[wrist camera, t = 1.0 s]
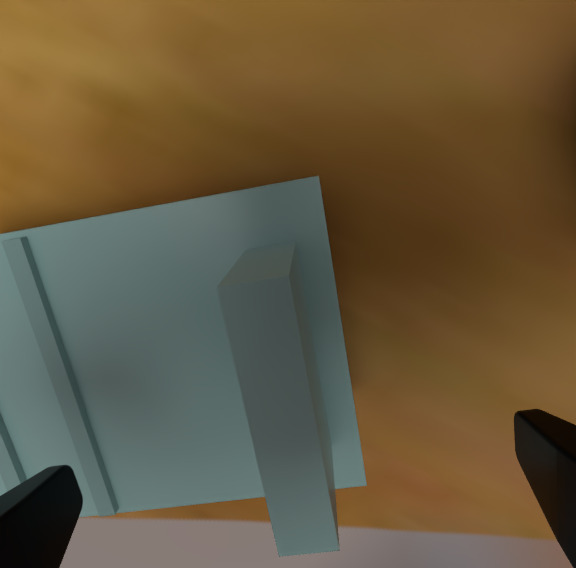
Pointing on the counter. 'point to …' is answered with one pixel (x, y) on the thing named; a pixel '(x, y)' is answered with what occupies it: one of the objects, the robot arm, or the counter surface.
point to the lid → (183, 359)
